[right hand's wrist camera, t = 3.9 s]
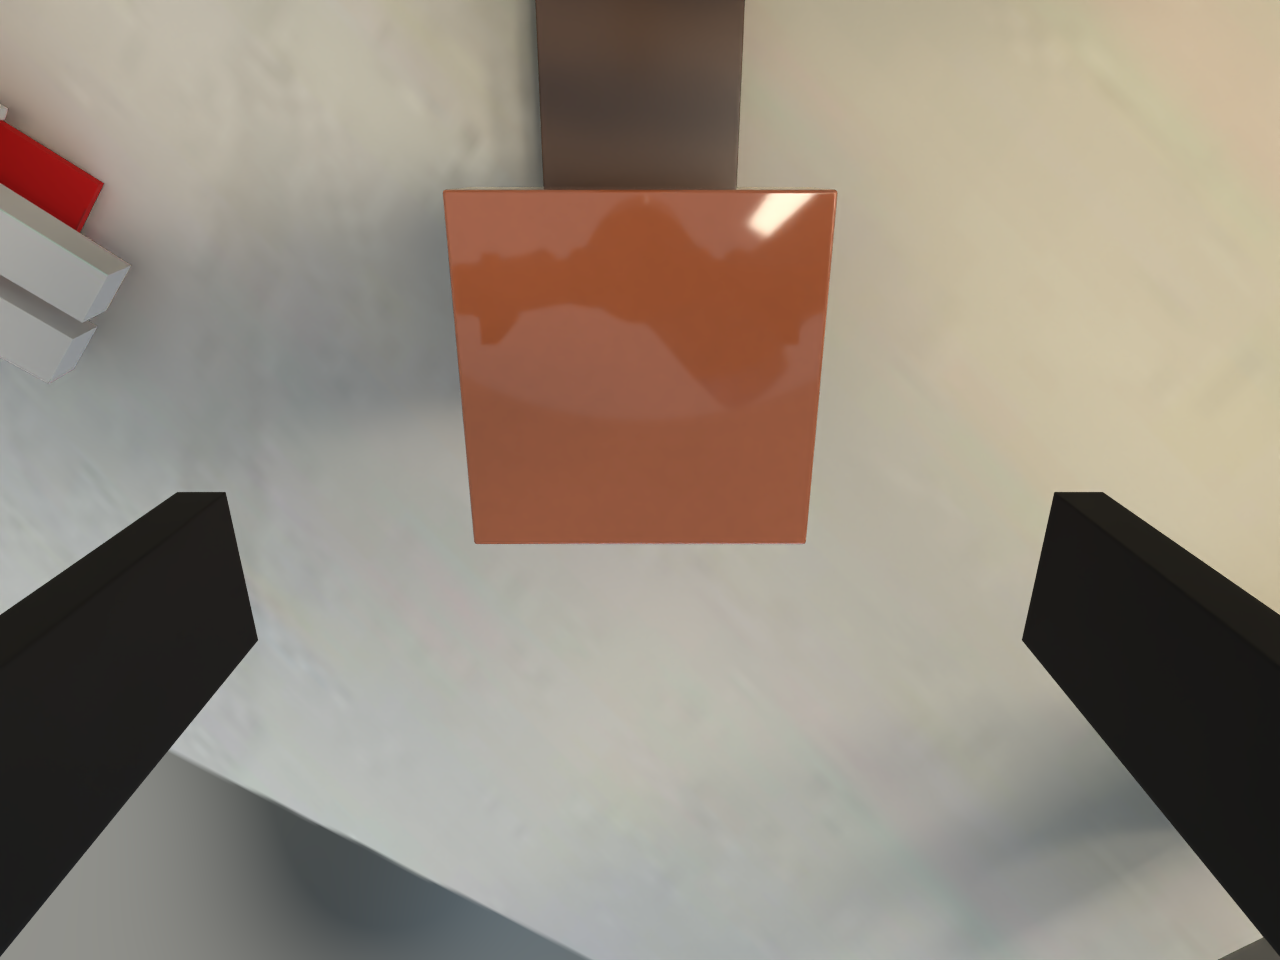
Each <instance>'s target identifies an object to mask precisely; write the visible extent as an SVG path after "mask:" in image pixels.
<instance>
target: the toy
mask: <svg viewBox="0 0 1280 960" xmlns="http://www.w3.org/2000/svg"><path fill="white" fill-rule="evenodd" d="M7 111H8V108H7V107H5V106H3V105H1V104H0V358H2V359H4V360H6V361H8V362H10V363H11V364H13V365H15V366H17V367H19V368H20V369H22V370H24V371H26V372H28V373H30V374H31V375H33V376H35V377H37V378H39V379H40V380H42V381H44V382H46V383H48V384H49V383H51V382H53V381H55V380H56V379H58V378H60V377H61V376H63V375H65V374H66V373H68V372H70V371H72V370H73V369H74V368H75V366H76V364H77V363H78V361H79V359H80V357H81V355H82V354H83V352H84V350H85V348H86V346H87V345H88V343H89V341H90V339H91V337H92V336H93V334H94V332H95V330H96V328H97V327H98V326H96V325H94V324H93V323H91V322H89V321H87V320H89V319H91V318H93V317H95V316H97V315H99V314H101V313H103V312H105V311H106V310H107V309H108V307H109V305H110V303H111V301H112V300H113V298H114V296H115V294H116V292H117V291H118V289H119V287H120V285H121V283H122V282H123V280H124V278H125V276H126V274H127V273H128V271H129V269H130V267H131V265H130V264H128V263H127V262H125V261H124V260H122V259H120V258H119V257H117V256H116V255H114V254H113V253H111V252H109V251H108V250H106V249H105V248H103V247H101V246H100V245H98V244H97V243H95V242H93V241H92V240H90V239H89V238H87V237H85V236H84V235H82V234H81V233H80V232H81V230H82V227H83V225H84V223H85V221H86V219H87V217H88V215H89V213H90V211H91V209H92V207H93V205H94V203H95V201H96V199H97V197H98V195H99V193H100V191H101V189H102V187H103V184H104V183H102V182H101V181H99V180H98V179H96V178H94V177H93V176H91V175H89V174H88V173H86V172H85V171H83V170H81V169H80V168H78V167H77V166H75V165H73V164H72V163H70V162H69V161H67V160H65V159H64V158H62V157H60V156H59V155H57V154H56V153H54V152H52V151H51V150H49V149H48V148H46V147H44V146H43V145H41V144H39V143H38V142H36V141H35V140H33V139H31V138H30V137H28V136H27V135H25V134H23V133H22V132H20V131H19V130H17V129H15V128H14V127H12V126H10V125H9V124H7V123H6V122H4V121H2V120H5V118H6V114H7Z"/></svg>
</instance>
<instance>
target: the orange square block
mask: <svg viewBox="0 0 1280 960" xmlns="http://www.w3.org/2000/svg"><path fill="white" fill-rule="evenodd" d="M443 202H444V213H445V224H446V235H447V246H448V257H449V268H450V279H451V291H452V302H453V313H454V324H455V335H456V346H457V357H458V368H459V379H460V390H461V401H462V412H463V423H464V435H465V446H466V457H467V468H468V479H469V490H470V501H471V512H472V523H473V534H474V542H475V544H805V542H806V534H807V523H808V512H809V501H810V490H811V479H812V468H813V457H814V446H815V435H816V424H817V413H818V402H819V391H820V380H821V369H822V358H823V347H824V336H825V325H826V314H827V303H828V292H829V281H830V270H831V259H832V248H833V237H834V226H835V215H836V204H837V191H836V190H833V189H823V188H813V187H466V188H456V189H446V190H444V191H443Z"/></svg>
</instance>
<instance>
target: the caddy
mask: <svg viewBox="0 0 1280 960" xmlns="http://www.w3.org/2000/svg"><path fill="white" fill-rule="evenodd" d="M535 2H536V25H537V48H538V71H539V93H540V116H541V139H542V162H543V185H544V187H737V165H738V142H739V120H740V97H741V75H742V52H743V30H744V7H745V0H535Z"/></svg>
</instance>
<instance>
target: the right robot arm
mask: <svg viewBox="0 0 1280 960" xmlns="http://www.w3.org/2000/svg"><path fill="white" fill-rule="evenodd" d="M257 641H258V638H257V633H256V629H255V624H254V619H253V615H252V610H251V606H250V601H249V597H248V592H247V588H246V583H245V579H244V574H243V569H242V565H241V560H240V556H239V551H238V547H237V542H236V538H235V533H234V528H233V524H232V519H231V515H230V510H229V506H228V501H227V497H226V492H177V493H175V494H174V495H172V496H171V497H170V498H168V499H167V500H165V501H164V502H162V503H161V504H160V505H158V506H157V507H155V508H154V509H152V510H151V511H149V512H148V513H147V514H145V515H144V516H142V517H141V518H139V519H138V520H136V521H135V522H134V523H132V524H131V525H129V526H128V527H126V528H125V529H123V530H122V531H121V532H119V533H118V534H116V535H115V536H113V537H112V538H111V539H109V540H108V541H106V542H105V543H103V544H102V545H100V546H99V547H98V548H96V549H95V550H93V551H92V552H90V553H89V554H87V555H86V556H85V557H83V558H82V559H80V560H79V561H77V562H76V563H75V564H73V565H72V566H70V567H69V568H67V569H66V570H64V571H63V572H62V573H60V574H59V575H57V576H56V577H54V578H53V579H51V580H50V581H49V582H47V583H46V584H44V585H43V586H41V587H40V588H38V589H37V590H36V591H34V592H33V593H31V594H30V595H28V596H27V597H26V598H24V599H23V600H21V601H20V602H18V603H17V604H15V605H14V606H13V607H11V608H10V609H8V610H7V611H5V612H4V613H2V614H1V615H0V956H1V955H2V954H3V953H4V951H5V950H6V949H7V948H8V946H9V945H10V944H11V943H12V942H13V940H14V939H15V938H16V937H17V936H18V934H19V933H20V932H21V931H22V929H23V928H24V927H25V926H26V924H27V923H28V922H29V921H30V920H31V918H32V917H33V916H34V915H35V913H36V912H37V911H38V910H39V908H40V907H41V906H42V905H43V904H44V902H45V901H46V900H47V899H48V897H49V896H50V895H51V894H52V893H53V891H54V890H55V889H56V888H57V886H58V885H59V884H60V883H61V881H62V880H63V879H64V878H65V876H66V875H67V874H68V873H69V872H70V870H71V869H72V868H73V867H74V865H75V864H76V863H77V862H78V861H79V859H80V858H81V857H82V856H83V854H84V853H85V852H86V851H87V849H88V848H89V847H90V846H91V845H92V843H93V842H94V841H95V840H96V838H97V837H98V836H99V835H100V834H101V832H102V831H103V830H104V829H105V827H106V826H107V825H108V824H109V822H110V821H111V820H112V819H113V818H114V816H115V815H116V814H117V813H118V811H119V810H120V809H121V808H122V807H123V805H124V804H125V803H126V802H127V800H128V799H129V798H130V797H131V795H132V794H133V793H134V792H135V791H136V789H137V788H138V787H139V786H140V784H141V783H142V782H143V781H144V780H145V778H146V777H147V776H148V775H149V773H150V772H151V771H152V770H153V768H154V767H155V766H156V765H157V763H158V762H159V761H160V760H161V759H162V757H163V756H164V755H165V754H166V752H167V751H168V750H169V749H170V748H171V746H172V745H173V744H174V743H175V741H176V740H177V739H178V738H179V737H180V735H181V734H182V733H183V732H184V730H185V729H186V728H187V727H188V725H189V724H190V723H191V722H192V721H193V719H194V718H195V717H196V716H197V714H198V713H199V712H200V711H201V710H202V708H203V707H204V706H205V705H206V703H207V702H208V701H209V700H210V698H211V697H212V696H213V695H214V694H215V692H216V691H217V690H218V689H219V687H220V686H221V685H222V684H223V682H224V681H225V680H226V679H227V678H228V676H229V675H230V674H231V673H232V671H233V670H234V669H235V668H236V667H237V665H238V664H239V663H240V662H241V660H242V659H243V658H244V657H245V655H246V654H247V653H248V652H249V651H250V649H251V648H252V647H253V646H254V644H255V643H256V642H257ZM1022 641H1023V642H1024V643H1025V644H1026V646H1027V647H1028V648H1029V649H1030V651H1031V652H1032V653H1033V654H1034V655H1035V657H1036V658H1037V659H1038V660H1039V662H1040V663H1041V664H1042V665H1043V667H1044V668H1045V669H1046V670H1047V671H1048V673H1049V674H1050V675H1051V676H1052V678H1053V679H1054V680H1055V681H1056V683H1057V684H1058V685H1059V686H1060V687H1061V689H1062V690H1063V691H1064V692H1065V694H1066V695H1067V696H1068V697H1069V698H1070V700H1071V701H1072V702H1073V703H1074V705H1075V706H1076V707H1077V708H1078V710H1079V711H1080V712H1081V713H1082V714H1083V716H1084V717H1085V718H1086V719H1087V721H1088V722H1089V723H1090V724H1091V725H1092V727H1093V728H1094V729H1095V730H1096V732H1097V733H1098V734H1099V735H1100V737H1101V738H1102V739H1103V740H1104V741H1105V743H1106V744H1107V745H1108V746H1109V748H1110V749H1111V750H1112V751H1113V753H1114V754H1115V755H1116V756H1117V757H1118V759H1119V760H1120V761H1121V762H1122V764H1123V765H1124V766H1125V767H1126V768H1127V770H1128V771H1129V772H1130V773H1131V775H1132V776H1133V777H1134V778H1135V780H1136V781H1137V782H1138V783H1139V784H1140V786H1141V787H1142V788H1143V789H1144V791H1145V792H1146V793H1147V794H1148V795H1149V797H1150V798H1151V799H1152V800H1153V802H1154V803H1155V804H1156V805H1157V807H1158V808H1159V809H1160V810H1161V811H1162V813H1163V814H1164V815H1165V816H1166V818H1167V819H1168V820H1169V821H1170V823H1171V824H1172V825H1173V826H1174V827H1175V829H1176V830H1177V831H1178V832H1179V834H1180V835H1181V836H1182V837H1183V838H1184V840H1185V841H1186V842H1187V843H1188V845H1189V846H1190V847H1191V848H1192V850H1193V851H1194V852H1195V853H1196V854H1197V856H1198V857H1199V858H1200V859H1201V861H1202V862H1203V863H1204V864H1205V865H1206V867H1207V868H1208V869H1209V870H1210V872H1211V873H1212V874H1213V875H1214V877H1215V878H1216V879H1217V880H1218V881H1219V883H1220V884H1221V885H1222V886H1223V888H1224V889H1225V890H1226V891H1227V893H1228V894H1229V895H1230V896H1231V897H1232V899H1233V900H1234V901H1235V902H1236V904H1237V905H1238V906H1239V907H1240V908H1241V910H1242V911H1243V912H1244V913H1245V915H1246V916H1247V917H1248V918H1249V920H1250V921H1251V922H1252V923H1253V924H1254V926H1255V927H1256V928H1257V929H1258V931H1259V932H1260V933H1261V934H1262V936H1263V938H1261V939H1259V940H1257V941H1255V942H1253V943H1251V944H1249V945H1247V946H1245V947H1243V948H1241V949H1239V950H1237V951H1235V952H1233V953H1231V954H1229V955H1226V956H1224V957H1222V958H1220V959H1218V960H1280V615H1279V614H1278V613H1276V612H1275V611H1273V610H1272V609H1270V608H1269V607H1267V606H1266V605H1265V604H1263V603H1262V602H1260V601H1259V600H1257V599H1256V598H1254V597H1253V596H1252V595H1250V594H1249V593H1247V592H1246V591H1244V590H1243V589H1242V588H1240V587H1239V586H1237V585H1236V584H1234V583H1233V582H1231V581H1230V580H1229V579H1227V578H1226V577H1224V576H1223V575H1221V574H1220V573H1218V572H1217V571H1216V570H1214V569H1213V568H1211V567H1210V566H1208V565H1207V564H1205V563H1204V562H1203V561H1201V560H1200V559H1198V558H1197V557H1195V556H1194V555H1193V554H1191V553H1190V552H1188V551H1187V550H1185V549H1184V548H1182V547H1181V546H1180V545H1178V544H1177V543H1175V542H1174V541H1172V540H1171V539H1169V538H1168V537H1167V536H1165V535H1164V534H1162V533H1161V532H1159V531H1158V530H1157V529H1155V528H1154V527H1152V526H1151V525H1149V524H1148V523H1146V522H1145V521H1144V520H1142V519H1141V518H1139V517H1138V516H1136V515H1135V514H1133V513H1132V512H1131V511H1129V510H1128V509H1126V508H1125V507H1123V506H1122V505H1120V504H1119V503H1118V502H1116V501H1115V500H1113V499H1112V498H1110V497H1109V496H1108V495H1106V494H1105V493H1103V492H1054V497H1053V501H1052V506H1051V510H1050V515H1049V519H1048V524H1047V528H1046V533H1045V538H1044V542H1043V547H1042V551H1041V556H1040V560H1039V565H1038V569H1037V574H1036V579H1035V583H1034V588H1033V592H1032V597H1031V601H1030V606H1029V610H1028V615H1027V619H1026V624H1025V629H1024V633H1023V638H1022Z"/></svg>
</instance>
